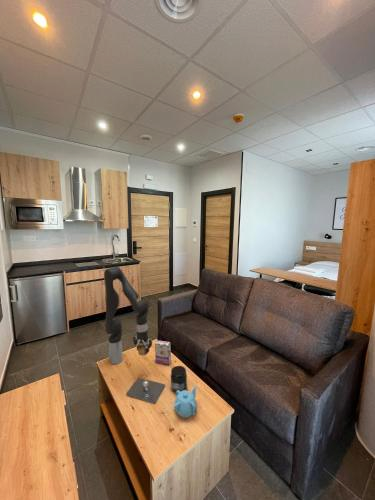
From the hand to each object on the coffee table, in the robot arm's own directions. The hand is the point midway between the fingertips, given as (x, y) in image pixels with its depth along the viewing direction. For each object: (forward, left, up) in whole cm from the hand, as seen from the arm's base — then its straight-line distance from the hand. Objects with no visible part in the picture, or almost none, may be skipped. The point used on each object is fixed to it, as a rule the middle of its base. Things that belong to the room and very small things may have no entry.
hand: (143, 351), depth 146 cm
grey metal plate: (+8, -12, -18) cm, 23 cm away
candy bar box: (+7, +16, -18) cm, 25 cm away
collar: (0, 0, -1) cm, 1 cm away
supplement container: (+27, -3, -18) cm, 33 cm away
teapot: (+37, -17, -18) cm, 45 cm away
